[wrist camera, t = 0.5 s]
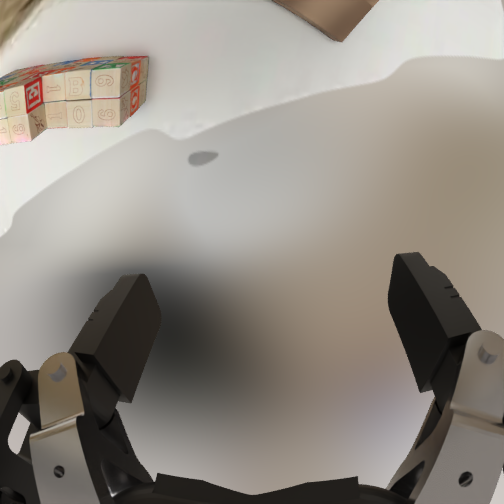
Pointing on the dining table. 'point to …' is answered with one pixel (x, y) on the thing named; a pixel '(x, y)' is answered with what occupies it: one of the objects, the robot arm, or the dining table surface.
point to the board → (330, 14)
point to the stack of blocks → (71, 96)
